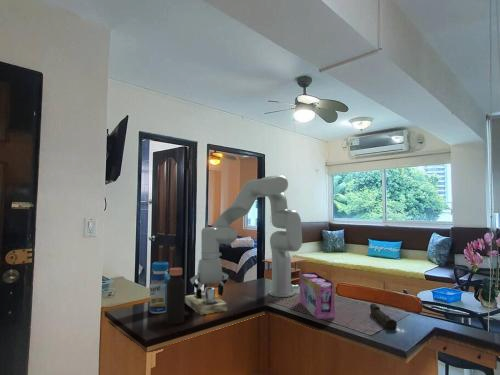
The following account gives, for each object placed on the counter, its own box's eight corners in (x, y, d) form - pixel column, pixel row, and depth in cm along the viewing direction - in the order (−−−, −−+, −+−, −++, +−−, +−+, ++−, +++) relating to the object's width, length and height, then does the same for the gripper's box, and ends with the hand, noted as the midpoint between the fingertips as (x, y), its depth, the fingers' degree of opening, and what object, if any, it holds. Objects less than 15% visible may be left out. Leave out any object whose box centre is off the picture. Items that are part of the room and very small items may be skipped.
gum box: (337, 319, 124) (336, 284, 125) (317, 320, 123) (317, 284, 124) (315, 301, 147) (315, 272, 148) (299, 302, 146) (299, 272, 147)
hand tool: (397, 331, 113) (397, 318, 113) (386, 331, 113) (385, 317, 113) (378, 313, 131) (377, 302, 132) (368, 313, 132) (368, 302, 132)
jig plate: (209, 298, 152) (209, 292, 152) (227, 310, 134) (227, 303, 134) (184, 302, 146) (184, 295, 146) (200, 315, 128) (200, 307, 128)
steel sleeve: (212, 307, 139) (212, 286, 139) (216, 310, 135) (216, 288, 135) (202, 309, 136) (203, 287, 137) (206, 312, 133) (207, 289, 133)
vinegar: (164, 320, 123) (165, 267, 124) (182, 317, 126) (183, 266, 127) (167, 326, 117) (168, 270, 118) (185, 323, 119) (186, 269, 121)
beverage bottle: (173, 310, 134) (174, 262, 136) (155, 315, 128) (156, 265, 129) (162, 306, 140) (163, 260, 141) (145, 311, 134) (146, 262, 135)
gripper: (224, 253, 145) (224, 291, 143) (187, 256, 136) (187, 297, 135) (231, 255, 138) (231, 295, 137) (193, 259, 129) (193, 301, 128)
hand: (209, 296), depth 136 cm, fingers open, 9 cm apart
